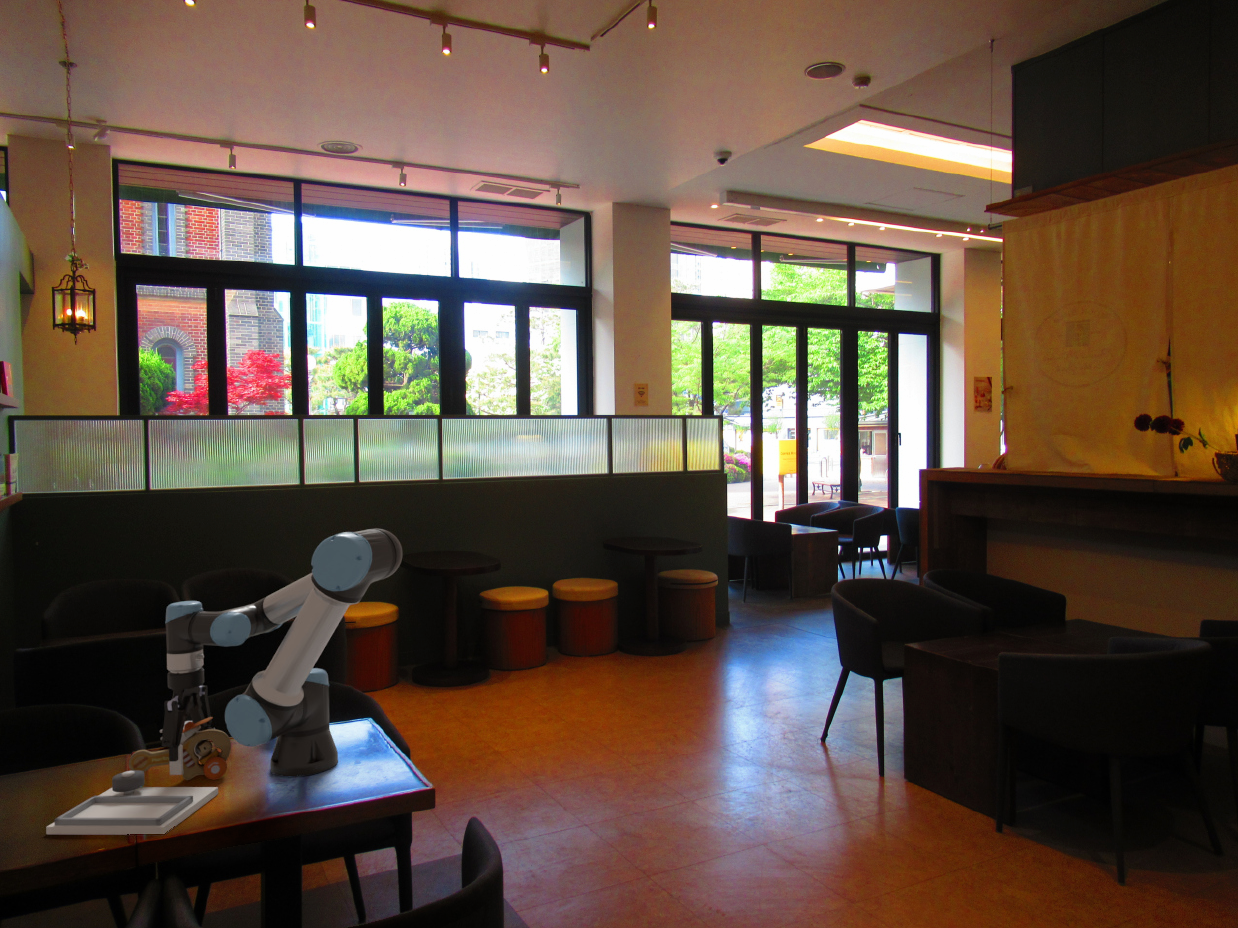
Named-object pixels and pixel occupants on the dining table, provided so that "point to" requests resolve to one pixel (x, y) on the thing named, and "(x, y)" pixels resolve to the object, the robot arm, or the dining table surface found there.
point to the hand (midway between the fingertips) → (188, 766)
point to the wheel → (128, 781)
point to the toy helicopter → (191, 753)
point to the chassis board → (132, 811)
